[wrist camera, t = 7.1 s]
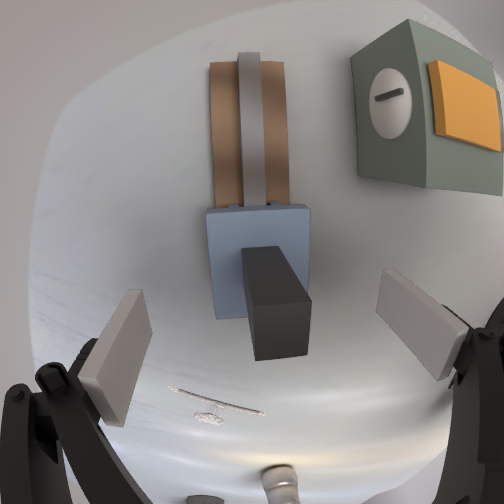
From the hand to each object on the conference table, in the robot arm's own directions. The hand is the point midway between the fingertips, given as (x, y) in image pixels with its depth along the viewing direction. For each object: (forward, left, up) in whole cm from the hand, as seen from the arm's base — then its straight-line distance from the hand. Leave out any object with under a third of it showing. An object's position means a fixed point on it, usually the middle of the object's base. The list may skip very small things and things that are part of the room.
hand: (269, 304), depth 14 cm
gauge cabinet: (+12, -15, -11) cm, 22 cm away
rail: (+6, 0, -11) cm, 13 cm away
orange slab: (+12, -15, -1) cm, 19 cm away
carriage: (0, 0, -9) cm, 9 cm away
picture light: (-22, +6, -12) cm, 26 cm away
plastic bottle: (-44, -3, -12) cm, 46 cm away
